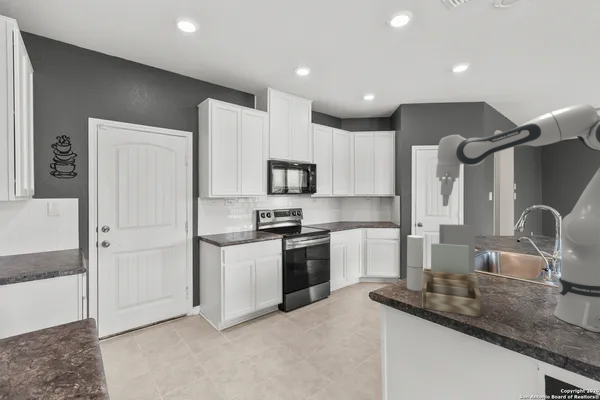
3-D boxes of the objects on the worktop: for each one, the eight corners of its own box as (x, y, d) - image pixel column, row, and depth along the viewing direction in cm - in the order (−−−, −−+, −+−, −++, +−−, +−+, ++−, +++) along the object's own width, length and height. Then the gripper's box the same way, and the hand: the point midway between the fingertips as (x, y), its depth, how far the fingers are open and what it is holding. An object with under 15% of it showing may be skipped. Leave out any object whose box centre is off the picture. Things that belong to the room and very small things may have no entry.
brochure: (468, 285, 138) (469, 224, 137) (474, 289, 133) (475, 226, 132) (438, 284, 140) (439, 224, 139) (443, 288, 134) (444, 225, 133)
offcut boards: (465, 306, 113) (466, 274, 113) (467, 312, 108) (468, 279, 107) (433, 301, 118) (433, 271, 118) (432, 307, 113) (433, 275, 112)
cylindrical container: (421, 286, 137) (422, 235, 136) (424, 291, 130) (424, 238, 129) (406, 285, 139) (406, 235, 138) (407, 290, 132) (408, 237, 131)
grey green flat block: (467, 302, 117) (468, 245, 116) (468, 304, 115) (469, 246, 114) (430, 297, 123) (431, 242, 122) (430, 298, 121) (431, 243, 121)
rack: (475, 302, 118) (475, 273, 117) (480, 317, 104) (481, 285, 103) (423, 294, 126) (423, 268, 126) (421, 307, 112) (422, 277, 112)
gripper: (455, 172, 110) (453, 207, 110) (456, 174, 127) (453, 204, 128) (438, 172, 113) (435, 206, 114) (440, 174, 131) (438, 204, 131)
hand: (445, 205), depth 121 cm, fingers open, 8 cm apart
